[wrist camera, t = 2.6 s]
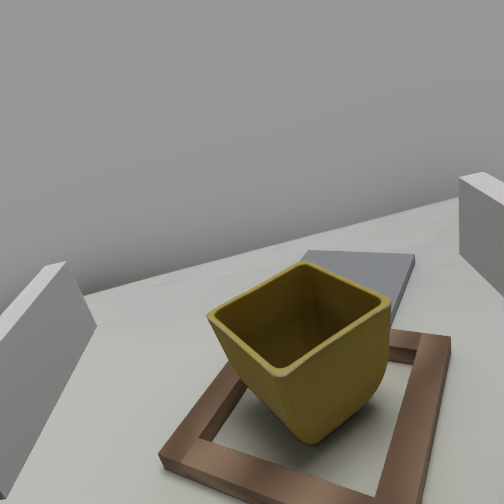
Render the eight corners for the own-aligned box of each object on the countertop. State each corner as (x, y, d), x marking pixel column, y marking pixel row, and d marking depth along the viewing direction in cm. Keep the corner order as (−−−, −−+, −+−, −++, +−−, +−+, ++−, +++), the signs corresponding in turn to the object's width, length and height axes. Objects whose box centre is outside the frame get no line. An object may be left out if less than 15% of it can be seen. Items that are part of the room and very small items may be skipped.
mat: (415, 262, 45) (414, 254, 44) (387, 334, 36) (386, 325, 36) (309, 257, 51) (308, 250, 51) (264, 317, 42) (262, 309, 42)
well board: (451, 352, 33) (450, 336, 32) (408, 567, 21) (406, 550, 20) (268, 325, 41) (265, 312, 40) (164, 468, 29) (157, 453, 29)
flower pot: (307, 489, 26) (276, 377, 22) (235, 407, 33) (202, 312, 29) (406, 407, 29) (395, 299, 25) (322, 349, 36) (303, 258, 32)
